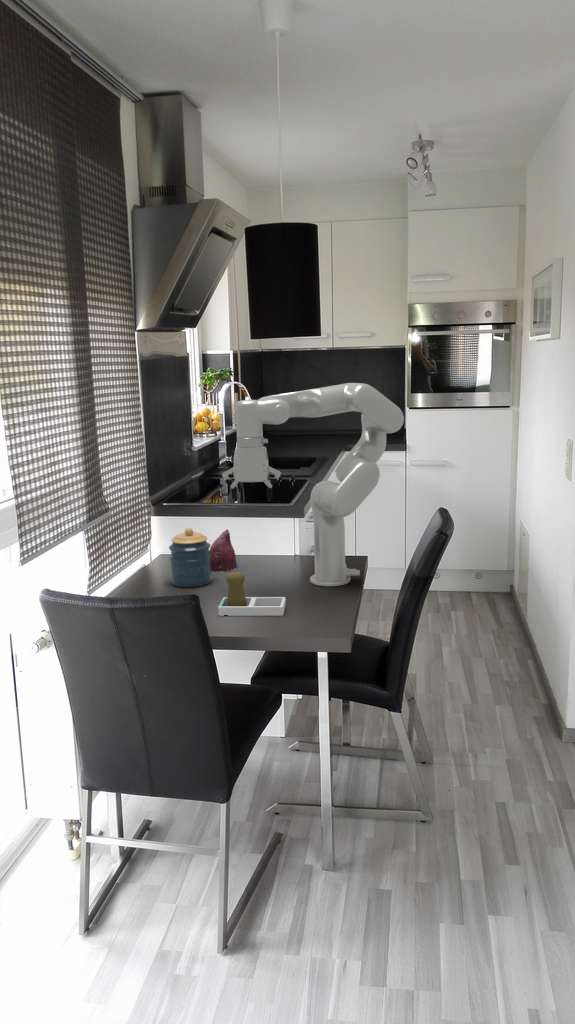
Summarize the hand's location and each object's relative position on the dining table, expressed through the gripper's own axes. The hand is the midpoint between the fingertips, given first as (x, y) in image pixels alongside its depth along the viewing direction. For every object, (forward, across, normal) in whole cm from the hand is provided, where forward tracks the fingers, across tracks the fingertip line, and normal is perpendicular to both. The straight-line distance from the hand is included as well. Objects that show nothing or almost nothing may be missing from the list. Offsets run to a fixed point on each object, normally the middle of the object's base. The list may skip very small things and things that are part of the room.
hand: (252, 500), depth 243 cm
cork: (+28, +4, +16) cm, 33 cm away
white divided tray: (+28, -1, +16) cm, 33 cm away
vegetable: (+29, +15, -29) cm, 43 cm away
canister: (+28, +22, -12) cm, 38 cm away
